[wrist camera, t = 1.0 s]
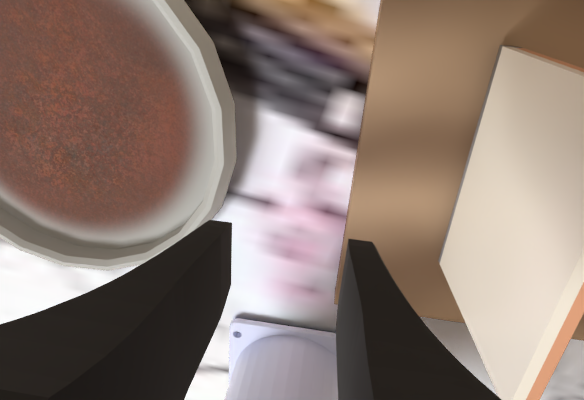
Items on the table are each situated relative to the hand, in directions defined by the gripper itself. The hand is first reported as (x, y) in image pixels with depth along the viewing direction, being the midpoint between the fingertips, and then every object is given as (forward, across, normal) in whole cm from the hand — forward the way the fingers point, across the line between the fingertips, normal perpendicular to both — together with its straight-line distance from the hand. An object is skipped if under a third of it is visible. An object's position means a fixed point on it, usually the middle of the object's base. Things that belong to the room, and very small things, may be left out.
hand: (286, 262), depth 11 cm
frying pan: (+11, +17, -2) cm, 20 cm away
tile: (+5, -7, 0) cm, 8 cm away
